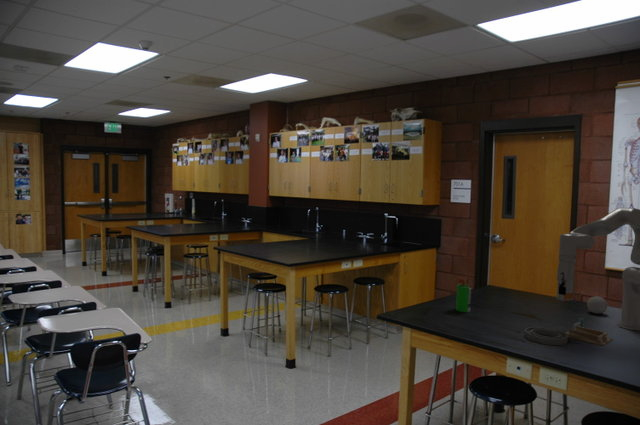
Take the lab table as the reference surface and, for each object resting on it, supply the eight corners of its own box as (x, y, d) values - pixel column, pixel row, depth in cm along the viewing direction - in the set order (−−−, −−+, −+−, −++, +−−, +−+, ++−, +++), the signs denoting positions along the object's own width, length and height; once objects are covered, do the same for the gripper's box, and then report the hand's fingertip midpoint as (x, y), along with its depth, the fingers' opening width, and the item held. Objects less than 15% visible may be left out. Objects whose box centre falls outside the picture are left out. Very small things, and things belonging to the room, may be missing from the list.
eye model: (601, 311, 274) (602, 294, 274) (610, 316, 264) (611, 299, 264) (583, 310, 275) (584, 294, 275) (591, 315, 265) (592, 298, 264)
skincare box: (562, 300, 233) (564, 277, 233) (556, 298, 237) (557, 275, 237) (572, 300, 235) (574, 276, 234) (566, 298, 239) (567, 275, 238)
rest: (572, 330, 235) (573, 323, 235) (612, 339, 222) (612, 332, 222) (561, 335, 225) (562, 328, 225) (602, 345, 213) (603, 338, 212)
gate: (579, 326, 240) (579, 317, 239) (583, 327, 238) (584, 318, 238) (570, 330, 232) (571, 321, 232) (575, 331, 230) (575, 322, 230)
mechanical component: (530, 330, 234) (530, 324, 234) (571, 339, 222) (571, 333, 222) (519, 339, 220) (519, 332, 220) (562, 348, 208) (562, 342, 208)
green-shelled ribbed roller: (472, 312, 262) (474, 281, 261) (458, 312, 263) (459, 280, 262) (467, 308, 272) (469, 277, 271) (453, 307, 272) (455, 277, 271)
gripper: (565, 256, 243) (563, 289, 245) (552, 259, 232) (550, 294, 233) (581, 258, 238) (579, 292, 239) (568, 261, 226) (566, 297, 227)
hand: (565, 293), depth 236 cm, fingers closed on skincare box, 7 cm apart
